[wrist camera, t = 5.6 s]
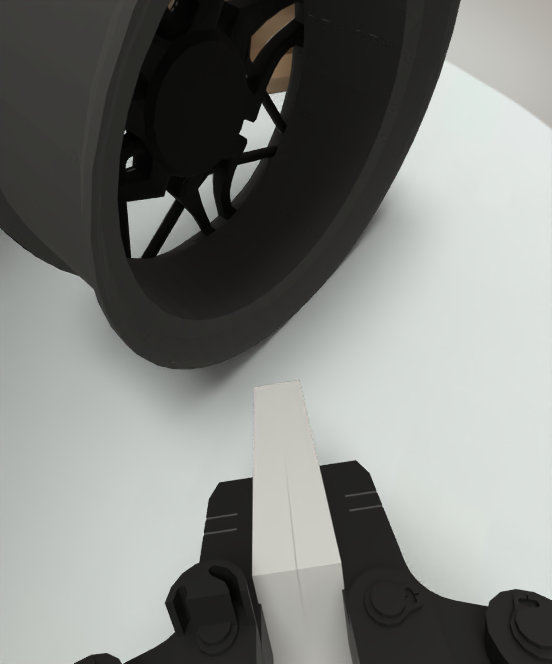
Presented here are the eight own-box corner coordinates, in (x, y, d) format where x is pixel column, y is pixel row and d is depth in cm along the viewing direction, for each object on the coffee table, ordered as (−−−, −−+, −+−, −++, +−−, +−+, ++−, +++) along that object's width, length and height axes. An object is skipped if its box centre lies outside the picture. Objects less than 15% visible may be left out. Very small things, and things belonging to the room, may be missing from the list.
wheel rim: (302, 147, 31) (298, -376, 13) (400, 203, 28) (582, -375, 10) (104, 323, 25) (-403, -143, 7) (200, 415, 22) (-247, 19, 4)
